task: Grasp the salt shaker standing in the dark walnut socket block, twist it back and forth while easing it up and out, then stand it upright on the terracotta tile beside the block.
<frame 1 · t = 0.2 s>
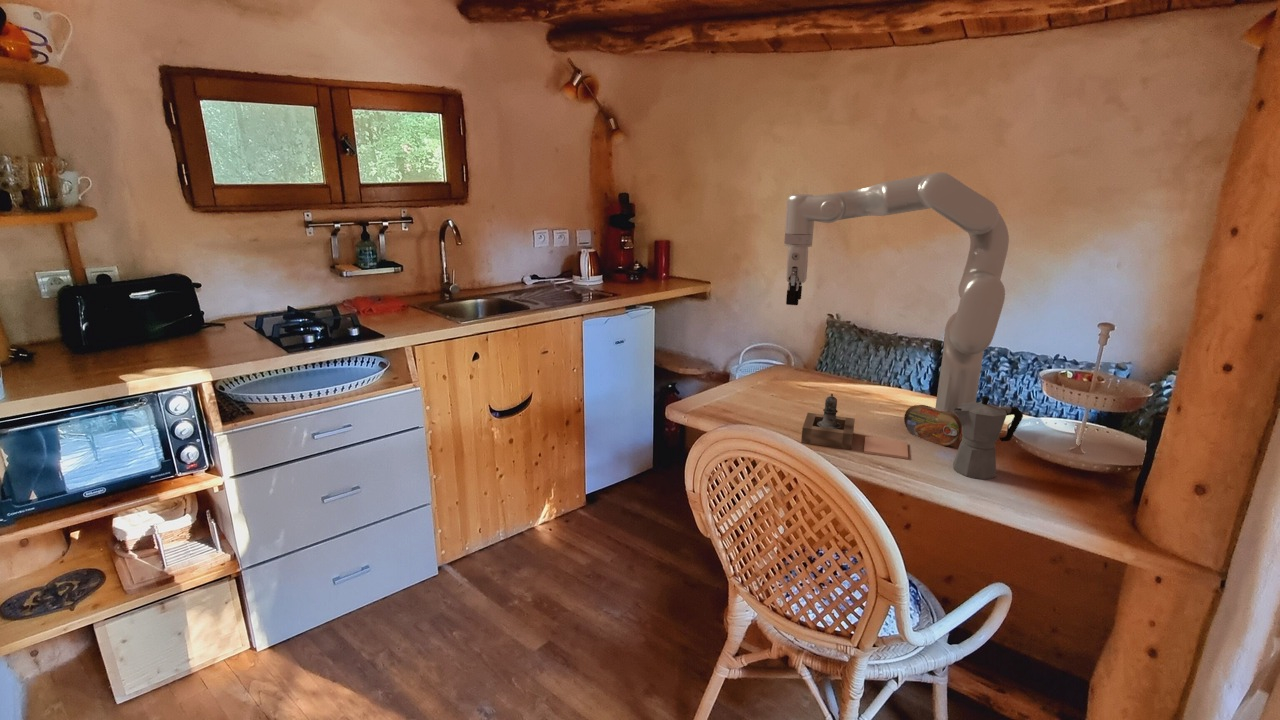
hand: (793, 301, 182), 31 cm above the table, tool pointing down, fingers open, 9 cm apart
socket block: (827, 437, 166), on the table
salt shaker: (827, 438, 166), resting in socket block
terracotta tile: (885, 448, 159), on the table
tin: (931, 440, 166), on the table
coffeepot: (978, 471, 147), on the table
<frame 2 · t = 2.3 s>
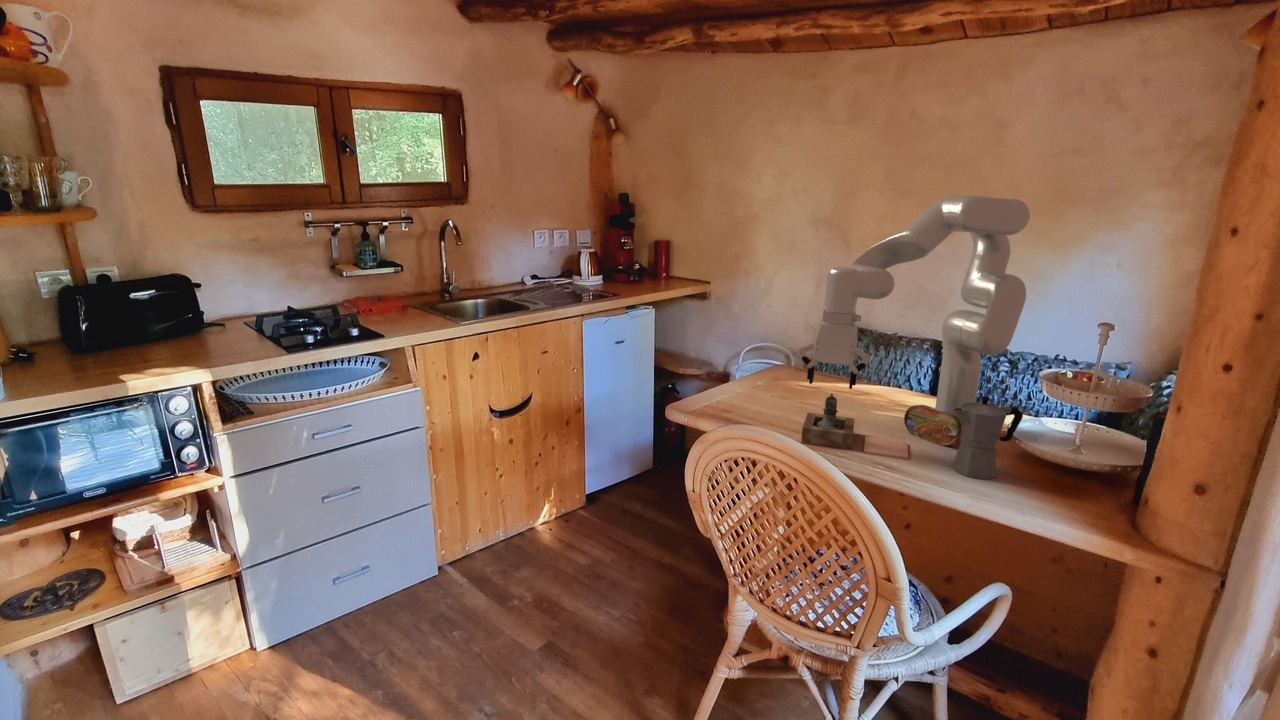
hand: (830, 385, 162), 14 cm above the table, tool pointing down, fingers open, 9 cm apart
nothing on the table moved.
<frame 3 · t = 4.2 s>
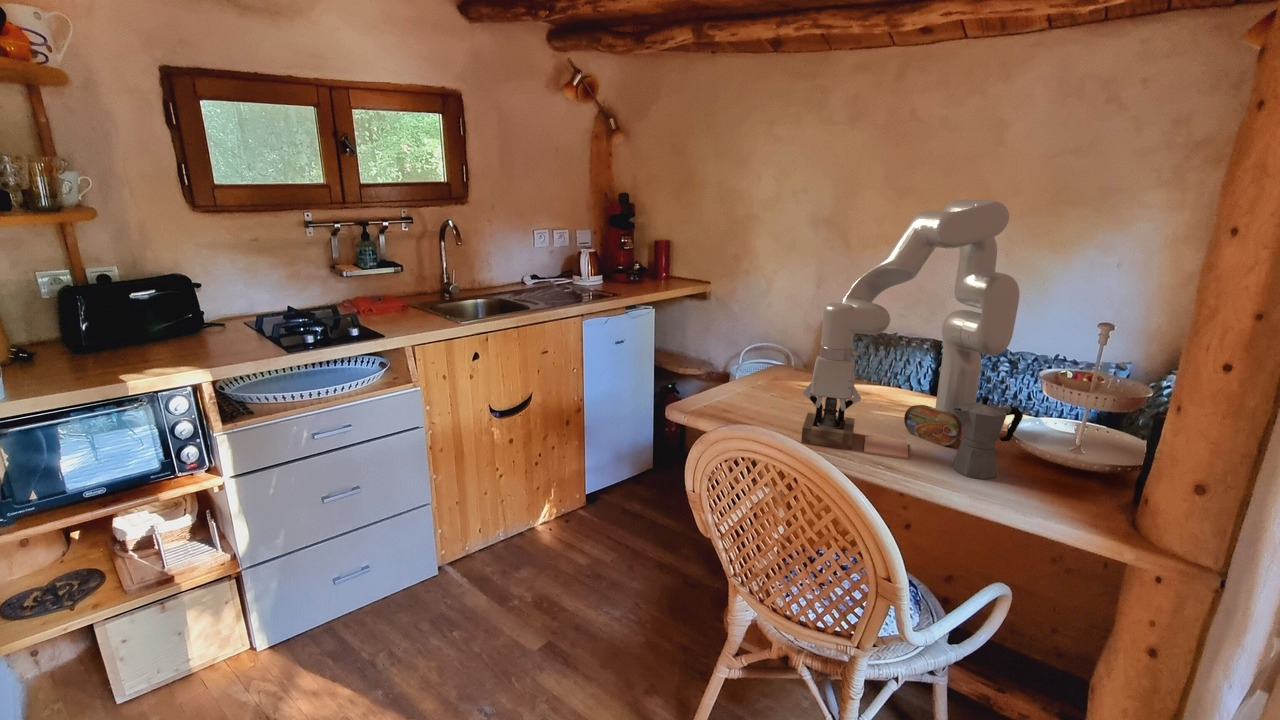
hand: (829, 421, 165), 4 cm above the table, tool pointing down, fingers closed on salt shaker, 4 cm apart
salt shaker: (827, 438, 166), resting in socket block, touching gripper
everything else where it was.
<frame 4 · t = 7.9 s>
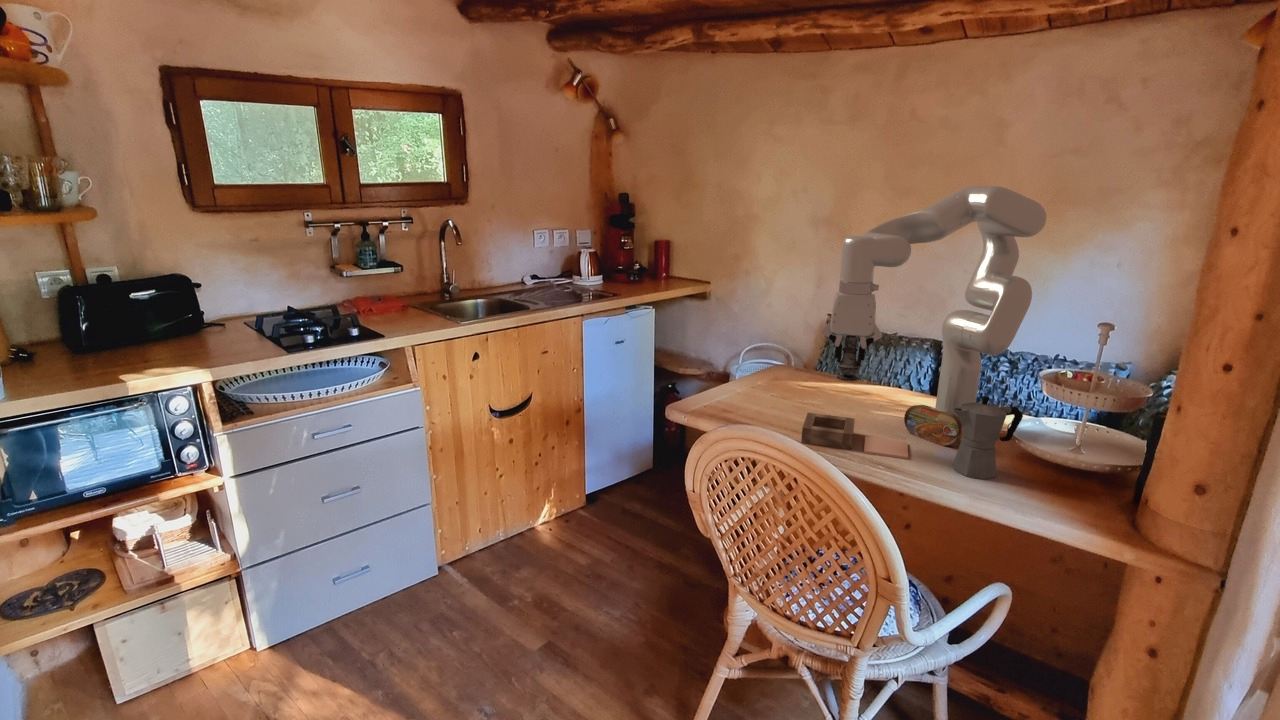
hand: (849, 361, 159), 21 cm above the table, tool pointing down, fingers closed on salt shaker, 4 cm apart
salt shaker: (847, 378, 160), point 16 cm above the table, touching gripper
everything else where it was.
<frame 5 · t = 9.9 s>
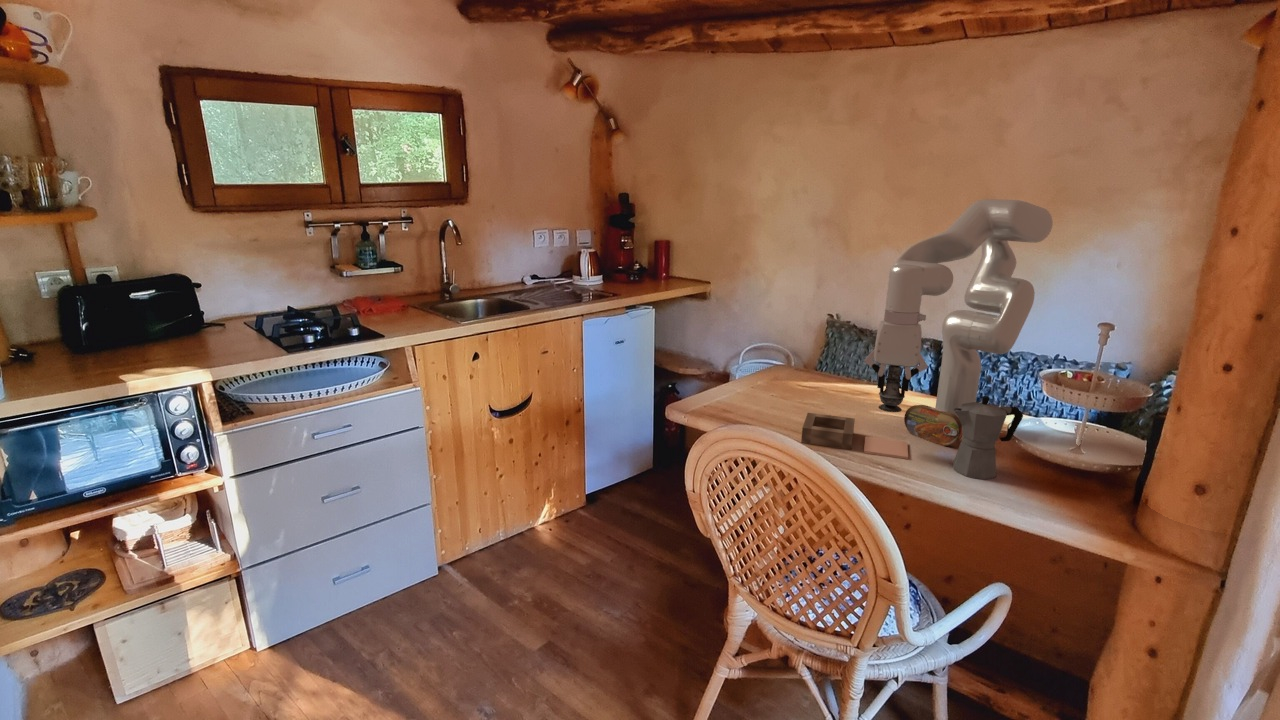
hand: (892, 391, 155), 15 cm above the table, tool pointing down, fingers closed on salt shaker, 4 cm apart
salt shaker: (889, 409, 157), point 10 cm above the table, touching gripper
everything else where it was.
when the fingers open (7 cm above the table, at t = 11.6 s): salt shaker drops 2 cm, resting on terracotta tile.
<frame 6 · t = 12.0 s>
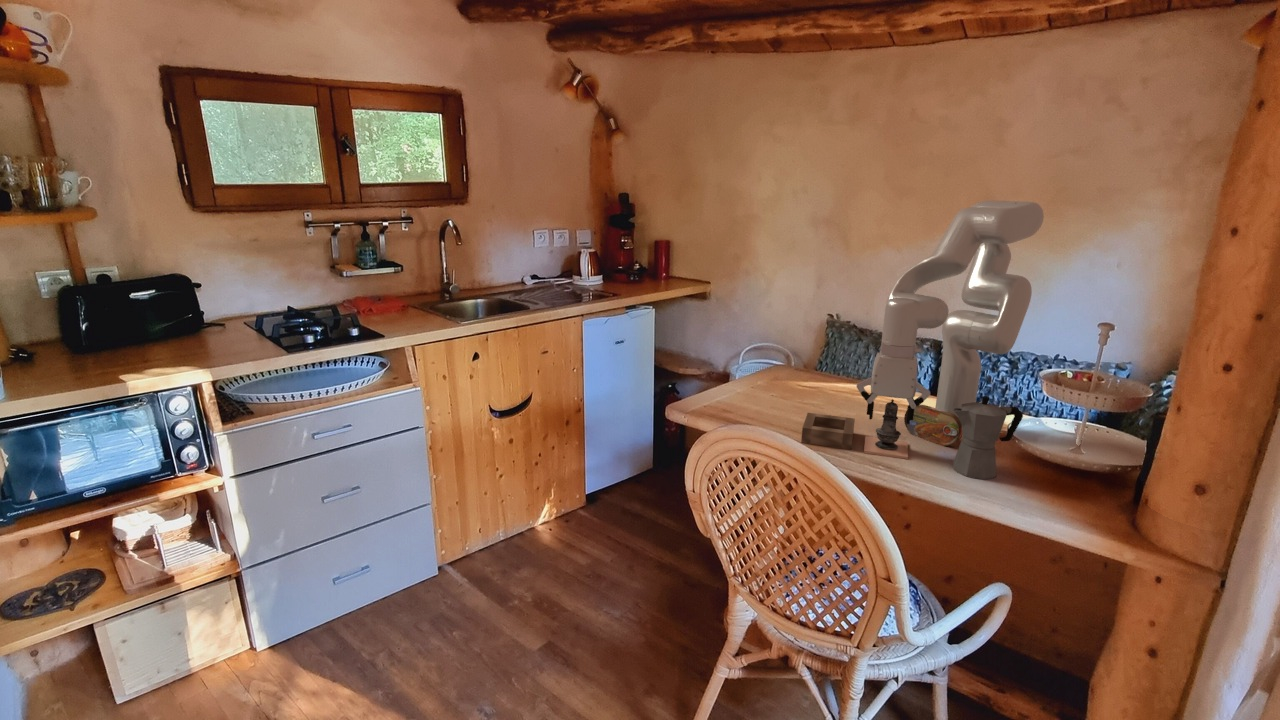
hand: (889, 419, 157), 8 cm above the table, tool pointing down, fingers open, 8 cm apart
salt shaker: (886, 446, 159), point 1 cm above the table, touching terracotta tile
everything else where it was.
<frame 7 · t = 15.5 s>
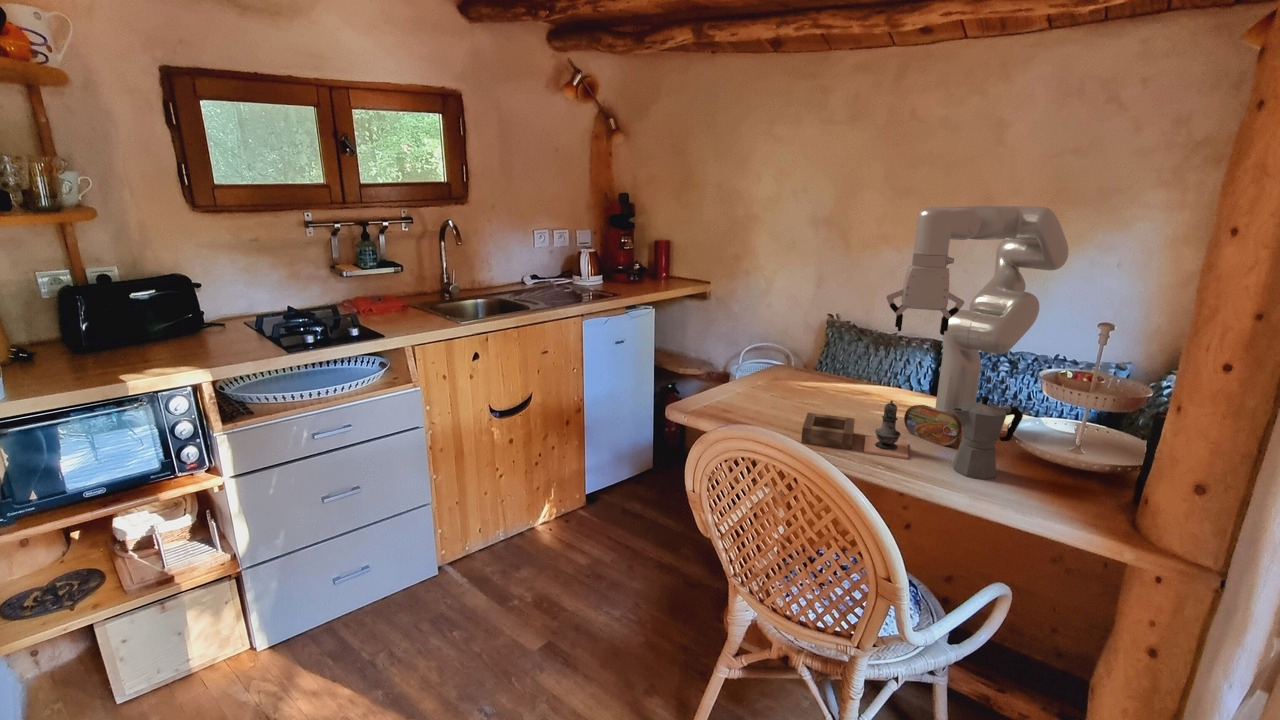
hand: (920, 332, 158), 28 cm above the table, tool pointing down, fingers open, 9 cm apart
nothing on the table moved.
at the end: salt shaker 0.1 cm off-centre on the terracotta tile, point 0.4 cm above the terracotta tile's base; salt shaker tilted 0°; the gripper is holding nothing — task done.
